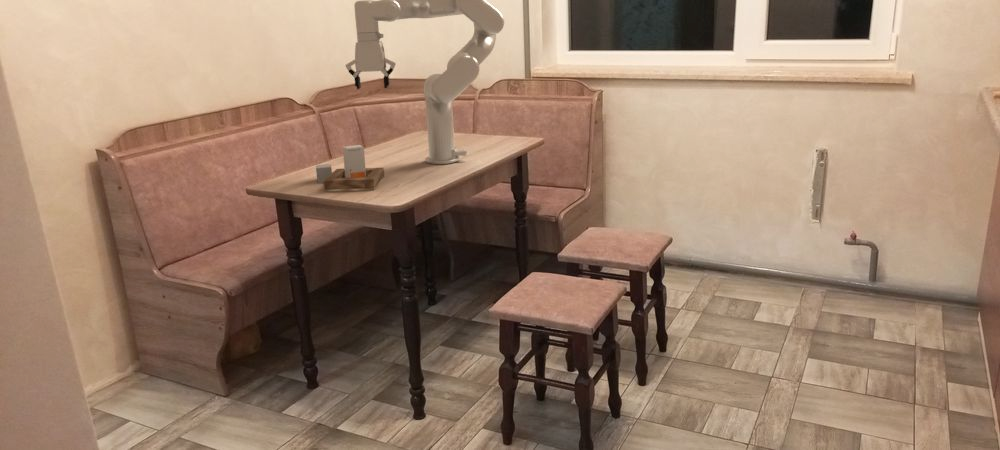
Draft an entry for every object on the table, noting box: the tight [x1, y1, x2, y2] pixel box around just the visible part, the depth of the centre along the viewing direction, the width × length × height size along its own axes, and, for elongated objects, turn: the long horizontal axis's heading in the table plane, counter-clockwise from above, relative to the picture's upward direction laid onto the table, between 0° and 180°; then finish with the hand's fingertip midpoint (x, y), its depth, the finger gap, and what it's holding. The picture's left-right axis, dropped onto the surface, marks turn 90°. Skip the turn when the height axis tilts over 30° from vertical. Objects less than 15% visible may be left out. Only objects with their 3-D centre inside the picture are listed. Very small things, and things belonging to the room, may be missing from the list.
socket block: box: [323, 167, 385, 192], centre depth 250 cm, size 16×17×4 cm
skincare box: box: [342, 144, 366, 178], centre depth 248 cm, size 6×4×12 cm
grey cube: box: [315, 163, 333, 184], centre depth 257 cm, size 5×5×5 cm
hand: (372, 88), depth 266 cm, fingers open, 9 cm apart
